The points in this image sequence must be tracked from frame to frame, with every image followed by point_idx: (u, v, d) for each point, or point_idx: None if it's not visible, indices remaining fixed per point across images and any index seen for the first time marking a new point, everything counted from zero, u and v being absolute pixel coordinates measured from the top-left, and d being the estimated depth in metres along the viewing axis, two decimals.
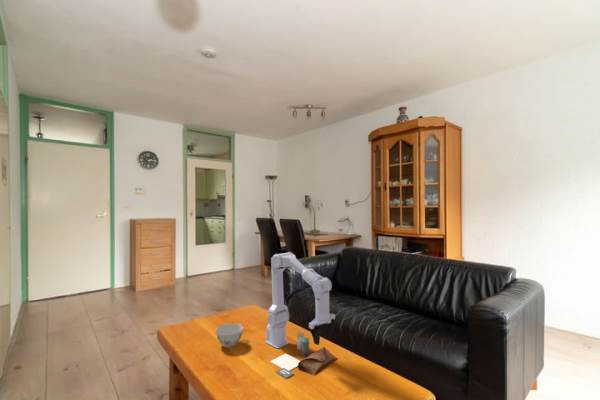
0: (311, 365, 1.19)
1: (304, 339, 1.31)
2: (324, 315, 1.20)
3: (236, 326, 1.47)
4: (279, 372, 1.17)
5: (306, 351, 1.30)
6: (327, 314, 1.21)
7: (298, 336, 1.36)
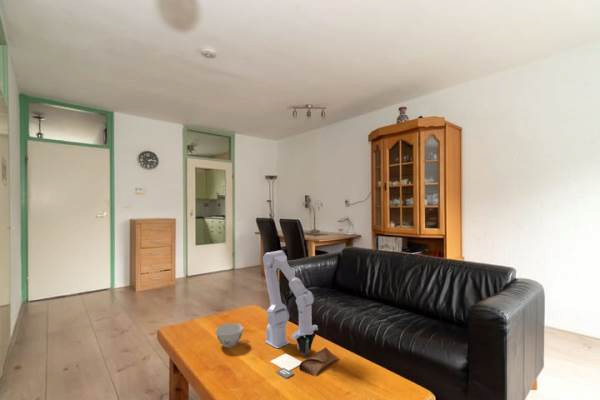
0: (313, 366, 1.18)
1: None
2: (306, 327, 1.29)
3: (236, 326, 1.47)
4: (279, 372, 1.17)
5: (306, 351, 1.30)
6: (309, 326, 1.29)
7: None
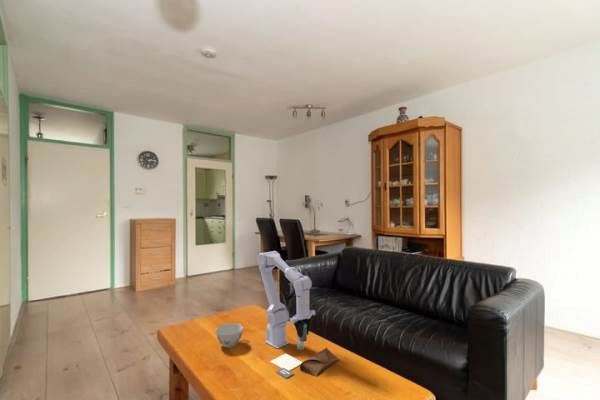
0: (313, 367, 1.18)
1: None
2: (304, 311, 1.28)
3: (236, 326, 1.47)
4: (279, 372, 1.17)
5: (304, 336, 1.29)
6: (307, 310, 1.29)
7: None
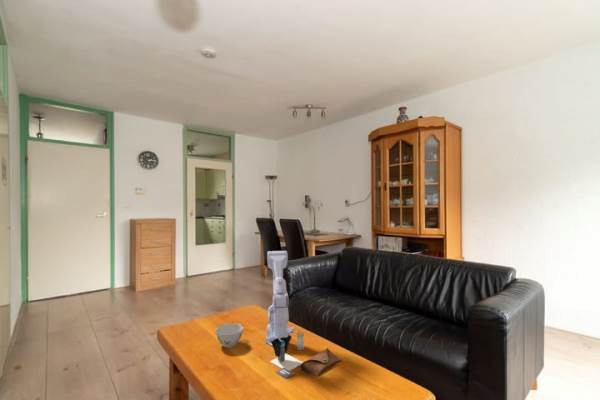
0: (314, 367, 1.18)
1: None
2: (281, 329, 1.24)
3: (236, 326, 1.47)
4: (279, 372, 1.17)
5: (282, 355, 1.25)
6: (284, 328, 1.24)
7: (298, 336, 1.36)
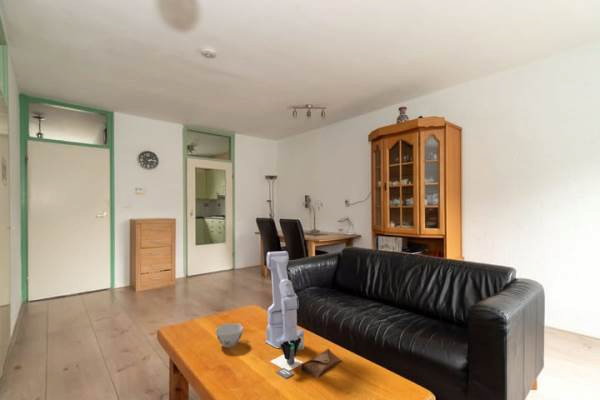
0: (315, 368, 1.18)
1: None
2: (290, 332, 1.22)
3: (236, 326, 1.47)
4: (279, 372, 1.17)
5: (291, 358, 1.23)
6: (294, 331, 1.23)
7: None
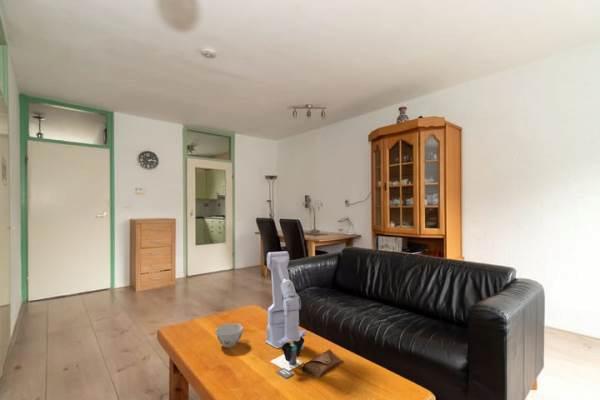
0: (316, 368, 1.17)
1: None
2: (293, 333, 1.22)
3: (236, 326, 1.47)
4: (279, 372, 1.17)
5: (293, 359, 1.23)
6: (296, 332, 1.22)
7: None
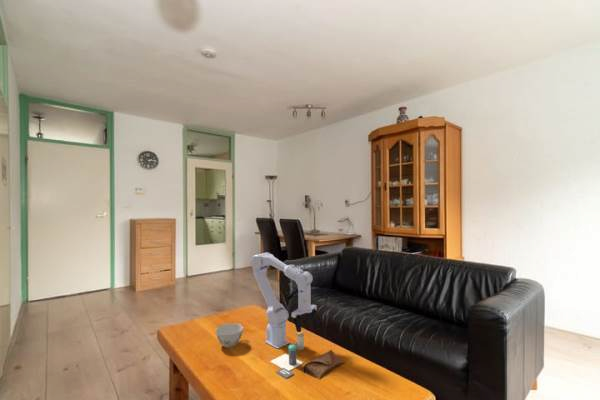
0: (317, 369, 1.17)
1: (291, 346, 1.24)
2: (305, 305, 1.33)
3: (236, 326, 1.47)
4: (279, 372, 1.17)
5: (293, 359, 1.23)
6: (308, 305, 1.33)
7: (298, 336, 1.36)
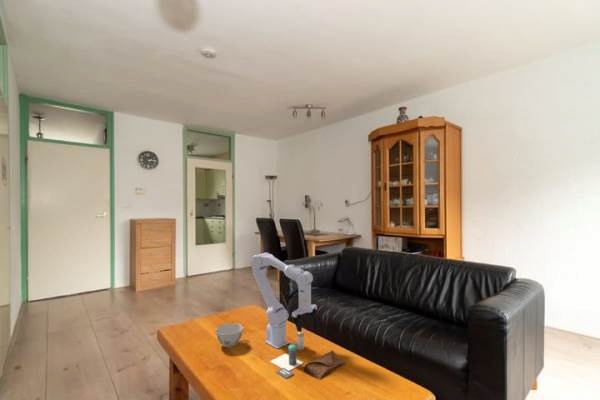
0: (317, 369, 1.16)
1: (291, 346, 1.24)
2: (305, 305, 1.33)
3: (236, 326, 1.47)
4: (279, 372, 1.17)
5: (293, 359, 1.23)
6: (309, 304, 1.34)
7: (298, 336, 1.36)
